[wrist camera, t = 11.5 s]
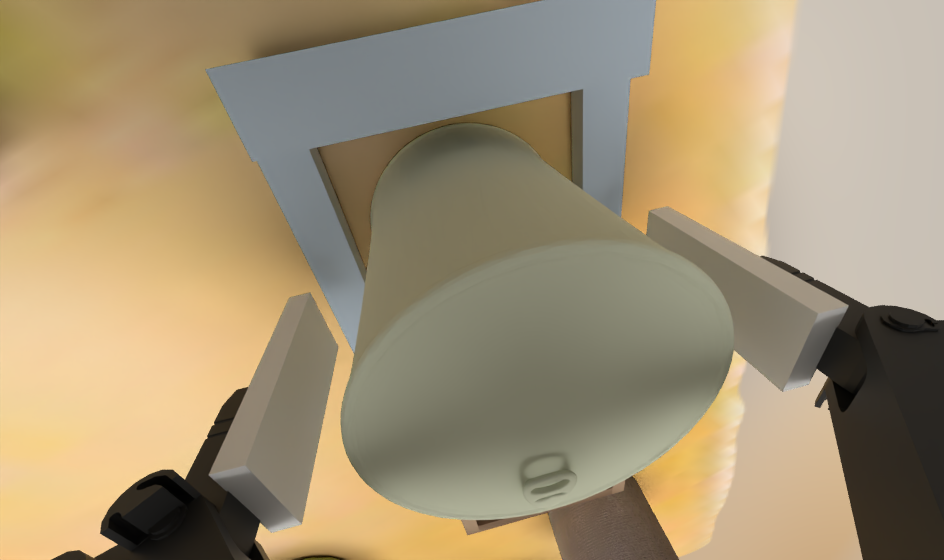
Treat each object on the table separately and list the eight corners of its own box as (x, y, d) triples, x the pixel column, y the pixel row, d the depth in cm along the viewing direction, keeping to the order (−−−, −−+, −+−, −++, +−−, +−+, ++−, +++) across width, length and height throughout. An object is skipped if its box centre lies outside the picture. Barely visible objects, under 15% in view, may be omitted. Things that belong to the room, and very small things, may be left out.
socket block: (226, 70, 13) (167, 77, 10) (619, -11, 14) (690, -30, 10) (370, 369, 22) (366, 426, 19) (604, 309, 23) (640, 354, 19)
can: (398, 313, 20) (401, 572, 10) (342, 144, 15) (235, 330, 5) (556, 278, 21) (705, 489, 11) (553, 104, 16) (833, 198, 6)
